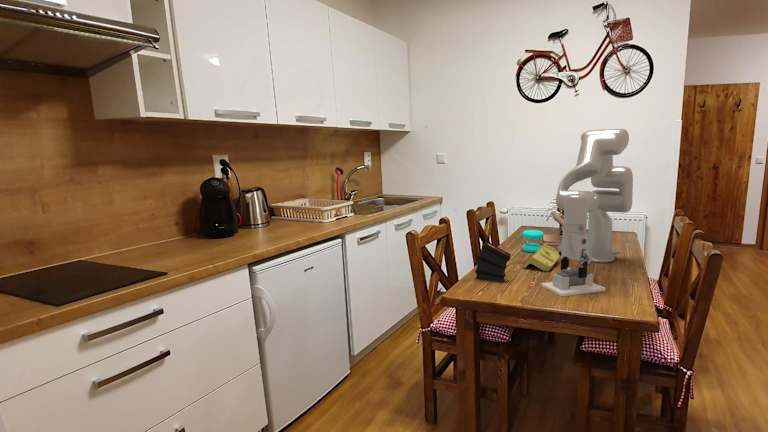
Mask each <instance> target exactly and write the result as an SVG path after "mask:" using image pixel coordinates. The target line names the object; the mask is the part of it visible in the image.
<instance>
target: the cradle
mask: <svg viewBox="0 0 768 432" xmlns="http://www.w3.org/2000/svg"><path fill="white" fill-rule="evenodd" d="M540 286H541V287H542V288H544V289H546V290H548V291H550V292H552V293H554V294H556V295H558V296H560V297H567V296H568V297H569V296H575V295H583V294H591V293H597V292H598V293H599V292H605V291H606V287H604V286H602V285H600V284H599V285H598V284H597V283H594V274H593V273H590V274H587V277H586V278H584V281H583V285H577V286H570V288H569V277H561V276H559V275H557V274H556V273H553V274H552V281H551V282H550V281H548V282H542V283H541V284H540Z"/></svg>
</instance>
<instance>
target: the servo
mask: <svg viewBox="0 0 768 432" xmlns="http://www.w3.org/2000/svg"><path fill="white" fill-rule="evenodd" d="M578 268H579V267H570V266H569V267H568V268H567V269H562V270H561V271H559V272H555V274H557V275H559V276H561V277H569V288H570V286H577V285H583V281H584V278H578ZM587 274H590V272H589V271H587Z"/></svg>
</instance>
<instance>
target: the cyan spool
mask: <svg viewBox="0 0 768 432" xmlns="http://www.w3.org/2000/svg"><path fill="white" fill-rule="evenodd" d="M544 235H545V233H544V232H543V231H541V230H537V229H529V230H528V229H527V230H524V231H523V232H522V237H523V238H524V239H527V240H541V238H543V236H544ZM542 245H543V244H541V243H537V242H527V243H524V244H523V245H522V250H523V251H524V252H525V253H532V254H533V253H534V254H535V253H536V252H537V251H538V250H539V249H540V248H541V246H542Z"/></svg>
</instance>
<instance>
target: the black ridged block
mask: <svg viewBox="0 0 768 432" xmlns="http://www.w3.org/2000/svg"><path fill="white" fill-rule="evenodd" d="M481 247H482V249H481V251H480V253H479V255H477V265H476V269H475V270H474V271H475V274H476V275H475V278H476V279H477V280H487V281H495V282H504V280H505V277H506V269H507V267H508V266H507V264H508V262H509V261H510V260H511V256H512V254H511V253H509V252H508V251H505V250H503V249H502V248H500V247H497V246H495V245H494V244H492V243H490V242H489V241H486V242H485V243H484V244H483V245H482V246H481Z"/></svg>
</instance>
